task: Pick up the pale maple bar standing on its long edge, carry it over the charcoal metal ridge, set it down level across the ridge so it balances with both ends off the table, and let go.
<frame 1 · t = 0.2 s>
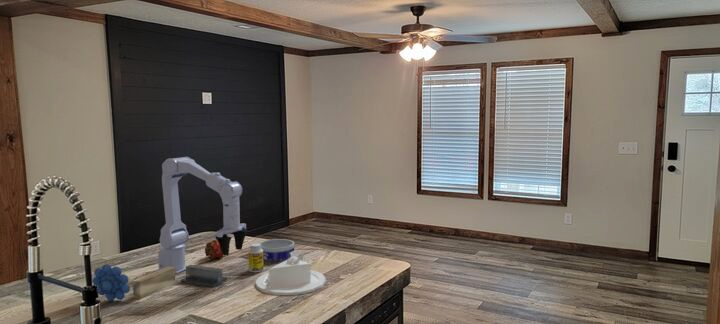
hand: (232, 252, 171), 10 cm above the worktop, tool pointing down, fingers open, 7 cm apart
maple bar: (155, 290, 161), on the worktop
supplement bottle: (256, 271, 182), on the worktop
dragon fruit: (216, 258, 198), on the worktop
balance ridge: (204, 281, 169), on the worktop
grapes: (110, 302, 150), on the worktop
dog bowl: (276, 257, 200), on the worktop
dish: (291, 283, 169), on the worktop
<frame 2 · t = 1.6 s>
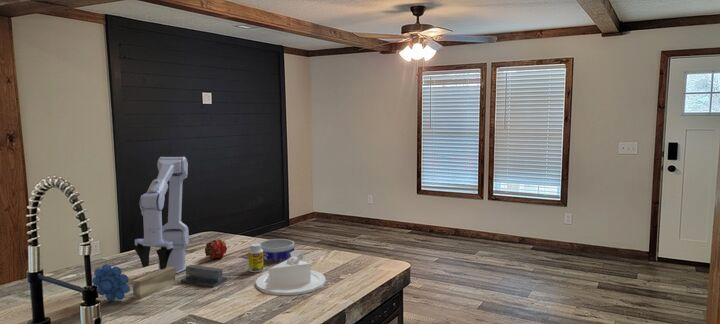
hand: (154, 267, 160), 8 cm above the worktop, tool pointing down, fingers open, 7 cm apart
nothing on the worktop moved.
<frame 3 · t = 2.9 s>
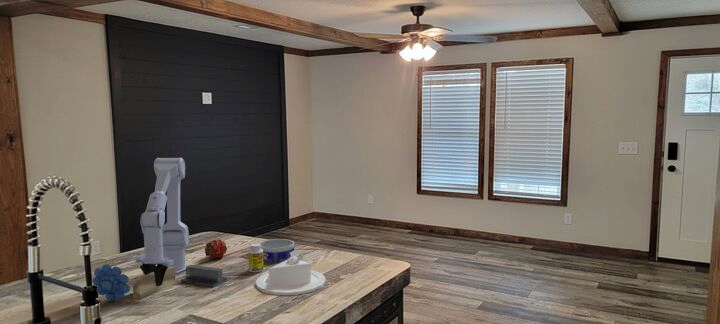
hand: (155, 284, 160), 2 cm above the worktop, tool pointing down, fingers closed on maple bar, 3 cm apart
maple bar: (155, 290, 161), on the worktop, touching gripper
everything else where it was.
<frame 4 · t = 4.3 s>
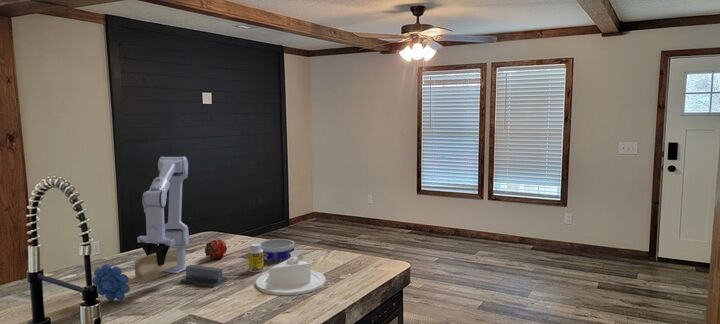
hand: (156, 264, 160), 9 cm above the worktop, tool pointing down, fingers closed on maple bar, 3 cm apart
maple bar: (157, 271, 160), point 7 cm above the worktop, touching gripper
everything else where it was.
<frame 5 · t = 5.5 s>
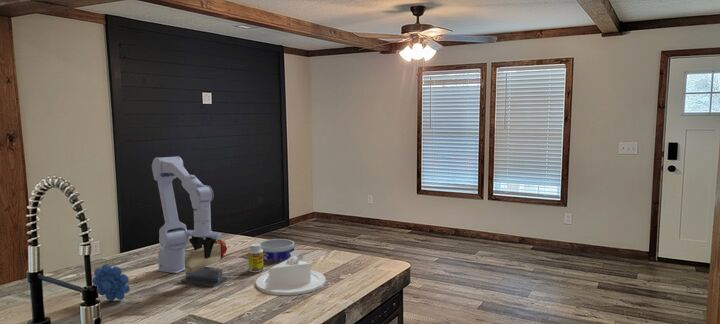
hand: (203, 257, 169), 9 cm above the worktop, tool pointing down, fingers closed on maple bar, 3 cm apart
maple bar: (203, 265, 169), point 6 cm above the worktop, touching gripper
everything else where it was.
when the fingers open (8 cm above the worktop, at t = 6.1 s): maple bar stays where it is, resting on balance ridge.
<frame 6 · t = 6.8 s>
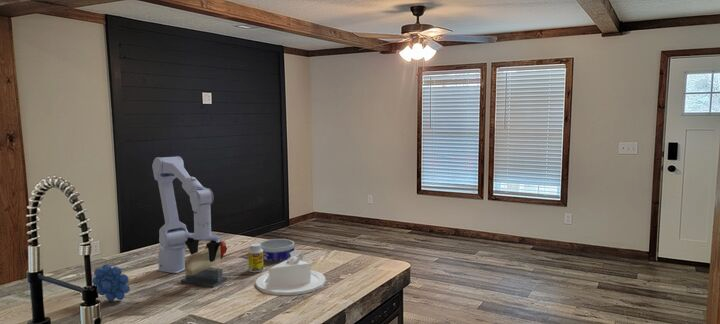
hand: (203, 260, 169), 8 cm above the worktop, tool pointing down, fingers open, 7 cm apart
maple bar: (203, 267, 169), point 5 cm above the worktop, touching balance ridge
everything else where it was.
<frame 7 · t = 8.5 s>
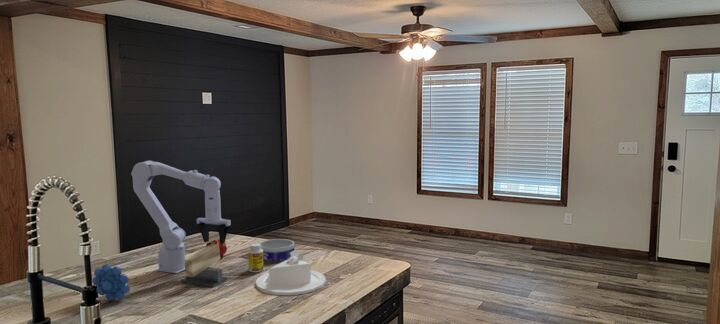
hand: (214, 242, 183), 10 cm above the worktop, tool pointing down, fingers open, 7 cm apart
maple bar: (203, 267, 169), point 5 cm above the worktop, tilted 6°, touching balance ridge
everything else where it was.
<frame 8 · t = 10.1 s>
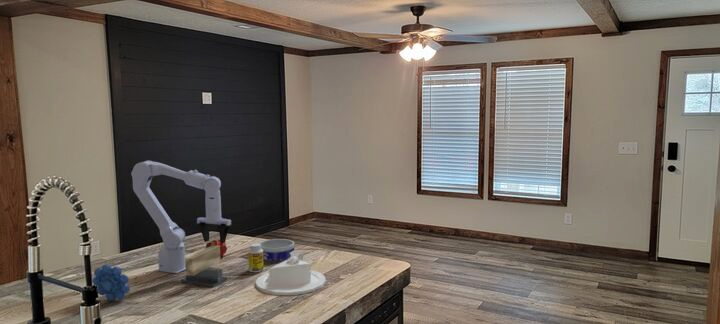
hand: (214, 242, 184), 10 cm above the worktop, tool pointing down, fingers open, 7 cm apart
nothing on the worktop moved.
at the end: maple bar 0.0 cm off-centre on the balance ridge, point 5.0 cm above the balance ridge's base; maple bar tilted 2°; maple bar touching balance ridge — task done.
